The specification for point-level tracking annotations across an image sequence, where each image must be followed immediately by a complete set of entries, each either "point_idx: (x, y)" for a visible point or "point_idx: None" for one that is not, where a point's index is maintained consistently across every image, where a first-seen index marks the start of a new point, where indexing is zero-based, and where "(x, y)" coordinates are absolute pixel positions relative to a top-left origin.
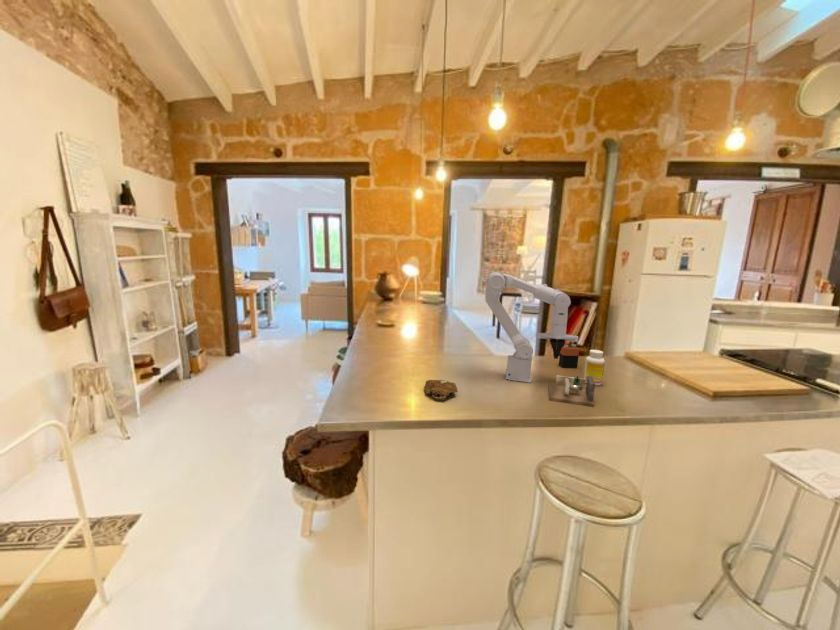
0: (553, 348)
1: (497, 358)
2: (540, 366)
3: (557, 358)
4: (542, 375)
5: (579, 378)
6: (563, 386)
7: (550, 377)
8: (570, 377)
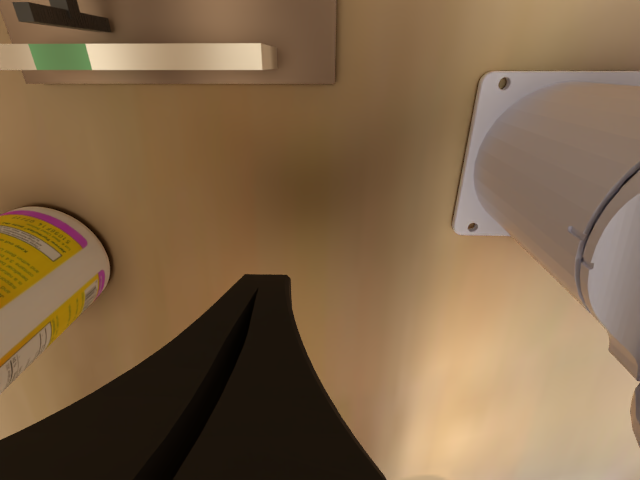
0: (294, 370)
1: (605, 454)
2: (369, 410)
3: (244, 275)
4: (367, 277)
5: (35, 57)
6: (212, 30)
7: (317, 259)
8: (122, 53)
